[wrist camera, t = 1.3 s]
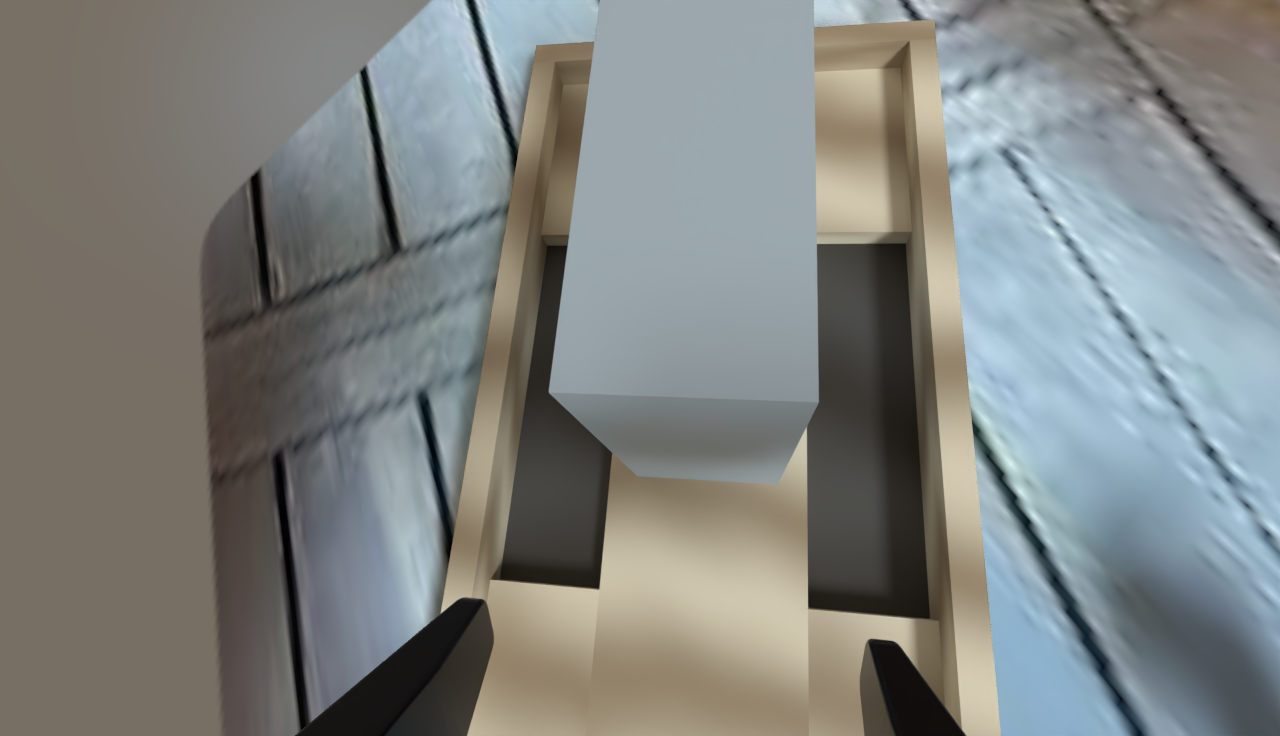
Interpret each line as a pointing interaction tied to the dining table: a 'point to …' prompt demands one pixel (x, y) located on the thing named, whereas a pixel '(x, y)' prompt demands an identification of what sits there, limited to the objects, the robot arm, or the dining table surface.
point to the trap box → (735, 511)
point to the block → (695, 240)
